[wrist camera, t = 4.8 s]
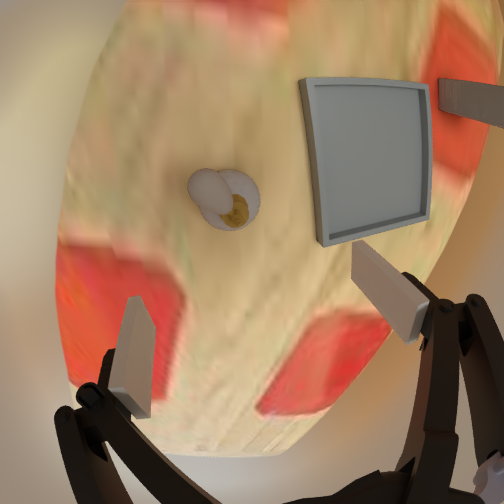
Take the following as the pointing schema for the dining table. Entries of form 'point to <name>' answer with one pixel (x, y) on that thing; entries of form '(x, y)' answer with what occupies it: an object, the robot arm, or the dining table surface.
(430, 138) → the tray
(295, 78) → the dining table surface
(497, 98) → the skincare box
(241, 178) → the perfume bottle
